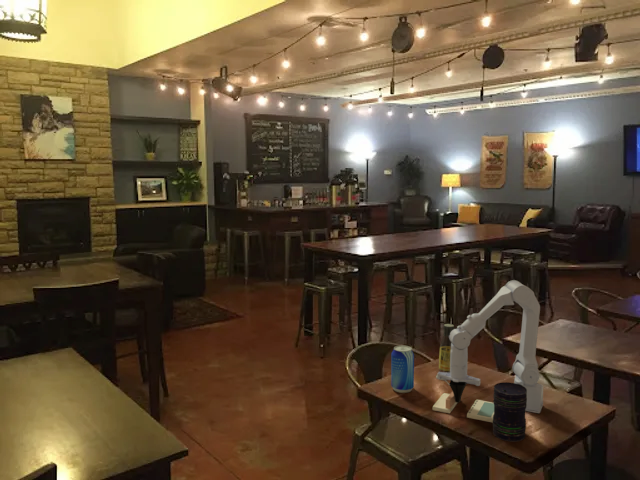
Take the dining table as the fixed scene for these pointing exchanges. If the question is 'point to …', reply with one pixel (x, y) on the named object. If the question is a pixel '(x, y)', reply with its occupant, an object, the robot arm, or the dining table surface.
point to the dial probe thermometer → (443, 379)
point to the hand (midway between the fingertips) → (458, 401)
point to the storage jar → (509, 411)
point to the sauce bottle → (445, 349)
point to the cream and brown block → (445, 403)
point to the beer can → (402, 369)
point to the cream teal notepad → (482, 411)
